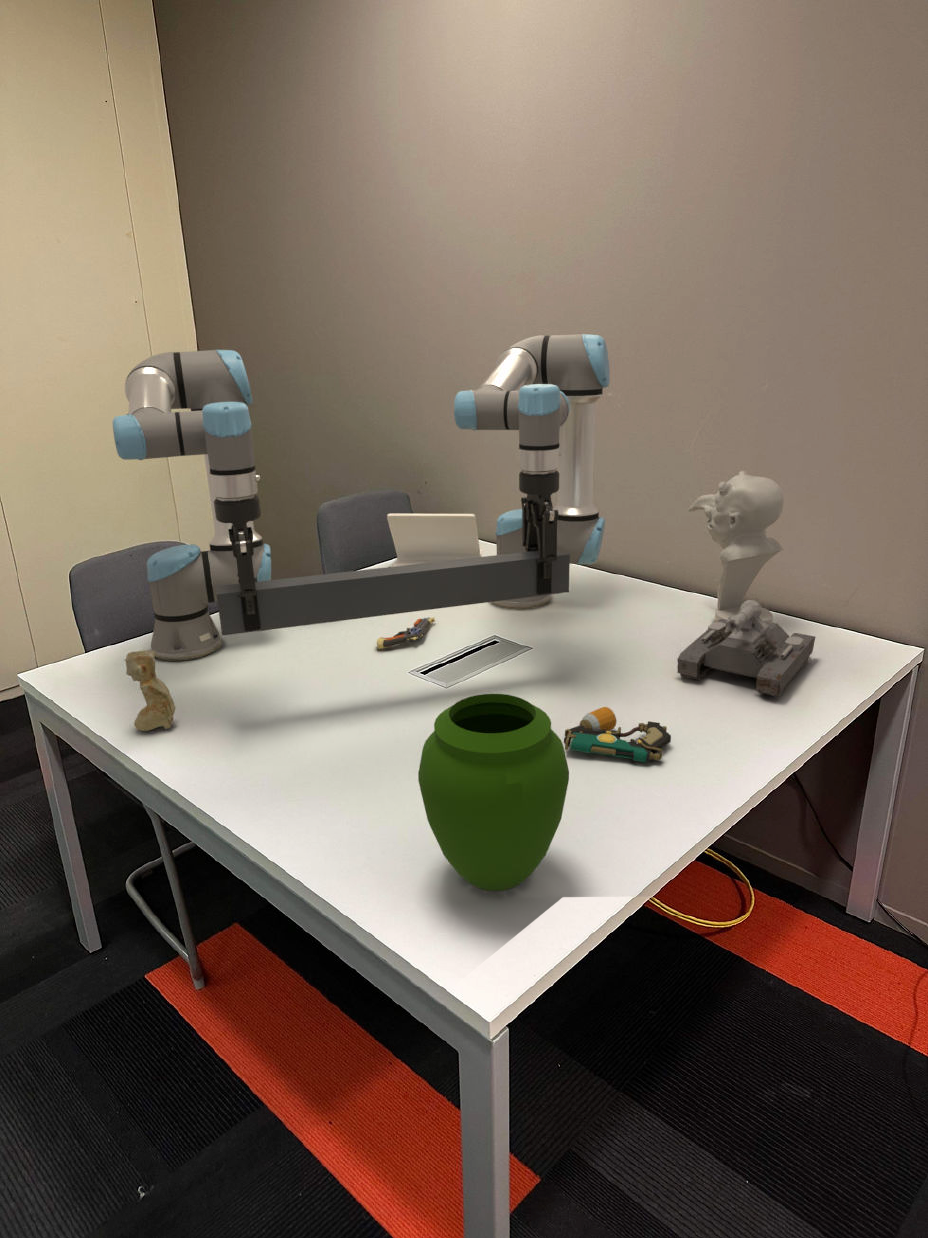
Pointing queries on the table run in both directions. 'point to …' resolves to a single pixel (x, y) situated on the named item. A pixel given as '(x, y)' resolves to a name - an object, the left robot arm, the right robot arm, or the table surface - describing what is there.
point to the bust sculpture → (741, 535)
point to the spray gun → (616, 737)
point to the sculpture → (150, 692)
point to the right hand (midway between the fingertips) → (539, 588)
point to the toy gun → (406, 634)
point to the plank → (390, 590)
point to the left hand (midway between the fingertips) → (251, 624)
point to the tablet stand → (433, 537)
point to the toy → (748, 650)
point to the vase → (493, 788)
